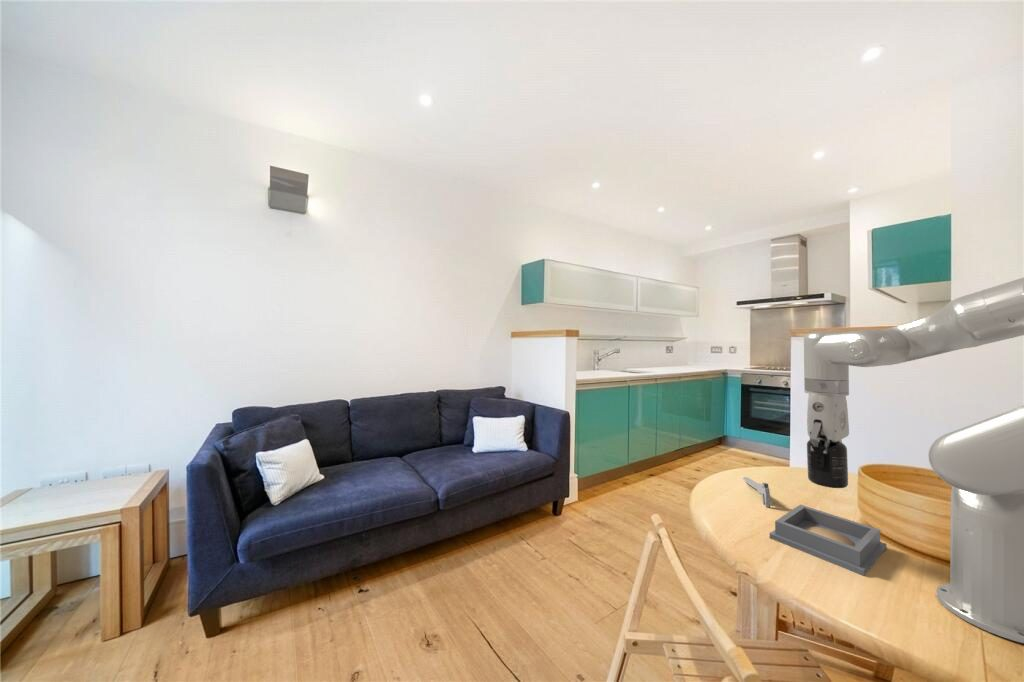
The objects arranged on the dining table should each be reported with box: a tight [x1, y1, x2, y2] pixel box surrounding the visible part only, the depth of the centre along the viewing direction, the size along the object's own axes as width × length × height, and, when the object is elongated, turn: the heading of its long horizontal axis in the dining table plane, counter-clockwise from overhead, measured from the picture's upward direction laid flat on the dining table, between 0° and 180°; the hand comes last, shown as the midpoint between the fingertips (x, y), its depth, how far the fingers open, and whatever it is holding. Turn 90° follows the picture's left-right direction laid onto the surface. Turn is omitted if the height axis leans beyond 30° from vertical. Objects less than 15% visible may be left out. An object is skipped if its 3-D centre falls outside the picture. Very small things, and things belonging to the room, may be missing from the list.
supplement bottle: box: [806, 436, 849, 489], centre depth 81 cm, size 7×7×12 cm
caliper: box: [742, 476, 771, 508], centre depth 108 cm, size 20×1×6 cm, turn 163°
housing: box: [769, 504, 887, 576], centre depth 81 cm, size 16×16×4 cm
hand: (826, 466), depth 81 cm, fingers closed on supplement bottle, 6 cm apart
